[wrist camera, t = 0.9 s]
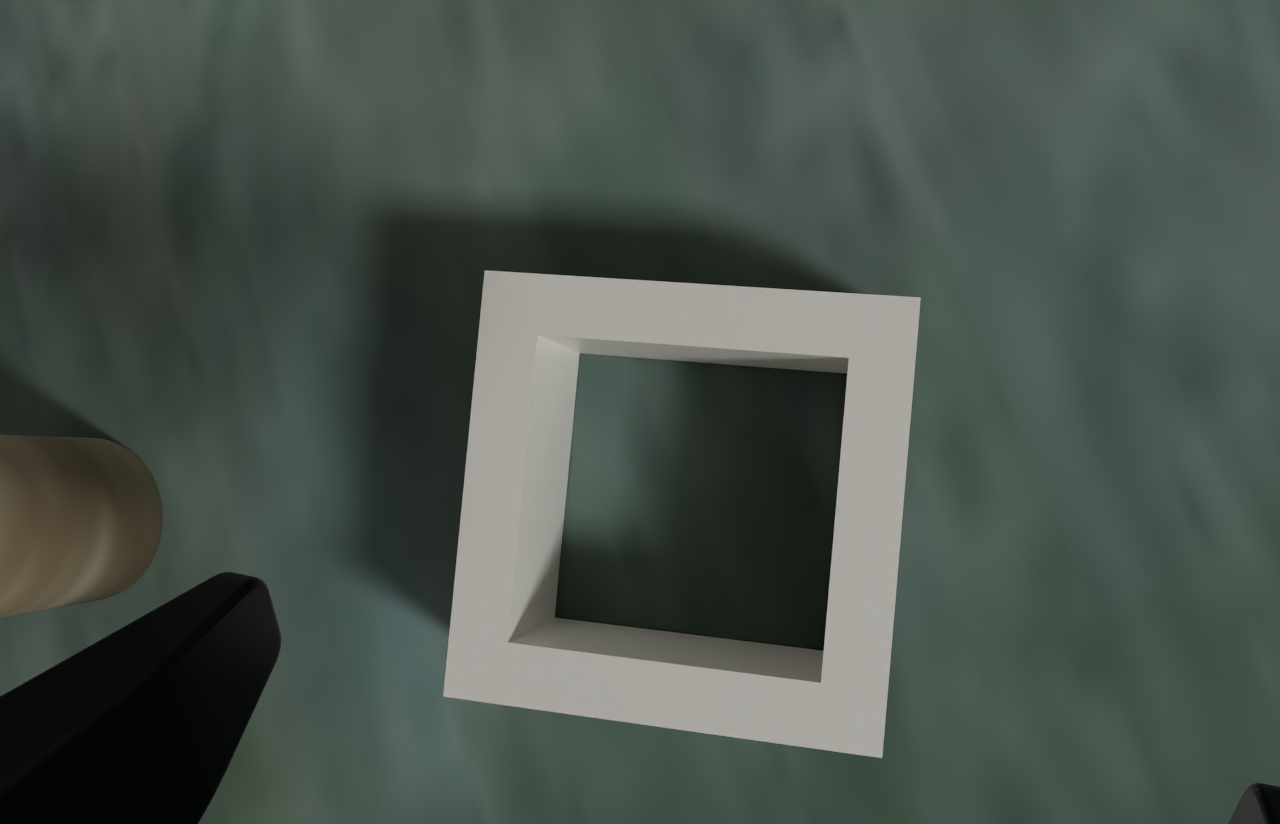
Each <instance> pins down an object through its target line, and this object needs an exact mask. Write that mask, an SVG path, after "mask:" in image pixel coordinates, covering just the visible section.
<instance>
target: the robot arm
mask: <svg viewBox="0 0 1280 824" xmlns="http://www.w3.org/2000/svg"><path fill="white" fill-rule="evenodd" d="M280 647H281V633H280V629H279V625H278V622H277V618H276V615H275V611H274V608H273V604H272V601H271V597H270V594H269V590H268V588H267V585H266V584H265V583H264V582H263V581H262V580H261V579H259V578H257V577H252V576H247V575H242V574H238V573H232V572H224V573H220V574H218V575H216V576H213V577H212V578H210V579H208V580H206V581H205V582H203V583H201V584H199V585H197V586H196V587H194V588H192V589H190V590H189V591H187V592H185V593H183V594H181V595H180V596H178V597H176V598H174V599H173V600H171V601H169V602H167V603H165V604H164V605H162V606H160V607H158V608H157V609H155V610H153V611H151V612H150V613H148V614H146V615H144V616H142V617H141V618H139V619H137V620H135V621H134V622H132V623H130V624H128V625H126V626H125V627H123V628H121V629H119V630H118V631H116V632H114V633H112V634H110V635H109V636H107V637H105V638H103V639H102V640H100V641H98V642H96V643H94V644H93V645H91V646H89V647H87V648H86V649H84V650H82V651H80V652H78V653H77V654H75V655H73V656H71V657H70V658H68V659H66V660H64V661H62V662H61V663H59V664H57V665H55V666H54V667H52V668H50V669H48V670H46V671H45V672H43V673H41V674H39V675H38V676H36V677H34V678H32V679H30V680H29V681H27V682H25V683H23V684H22V685H20V686H18V687H16V688H14V689H13V690H11V691H9V692H7V693H6V694H4V695H2V696H0V824H198V823H199V821H200V819H201V818H202V816H203V814H204V812H205V810H206V809H207V807H208V805H209V803H210V801H211V800H212V798H213V796H214V794H215V792H216V790H217V788H218V786H219V784H220V782H221V780H222V778H223V776H224V774H225V772H226V770H227V768H228V766H229V763H230V761H231V759H232V757H233V755H234V752H235V750H236V748H237V746H238V744H239V742H240V739H241V737H242V735H243V733H244V731H245V729H246V726H247V724H248V722H249V720H250V718H251V715H252V713H253V711H254V709H255V707H256V705H257V702H258V700H259V698H260V696H261V694H262V691H263V689H264V687H265V685H266V683H267V681H268V678H269V676H270V674H271V672H272V670H273V667H274V665H275V663H276V661H277V658H278V655H279V652H280ZM1228 824H1280V787H1277V786H1272V785H1267V784H1262V783H1255V784H1253V785H1251V786H1250V787H1248V788H1247V790H1246V791H1245V792H1244V794H1243V796H1242V798H1241V800H1240V802H1239V804H1238V806H1237V807H1236V809H1235V811H1234V813H1233V815H1232V817H1231V819H1230V821H1229V823H1228Z"/></svg>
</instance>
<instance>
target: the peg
mask: <svg viewBox="0 0 1280 824" xmlns="http://www.w3.org/2000/svg"><path fill="white" fill-rule="evenodd" d="M162 519H163V515H162V504H161V499H160V494H159V491H158V488H157V485H156V483H155V481H154V479H153V476H152V475H151V473H150V471H149V470H148V468H147V467H146V466H145V464H144V463H143V462H142V461H141V460H140V459H139V458H138V457H137V456H136V455H135V454H134V453H133V452H131V451H130V450H129V449H127V448H126V447H124V446H122V445H120V444H118V443H116V442H113V441H110V440H106V439H100V438H82V437H55V436H28V435H2V434H0V618H1V617H7V616H13V615H18V614H24V613H29V612H35V611H40V610H46V609H51V608H57V607H62V606H68V605H73V604H79V603H84V602H90V601H95V600H101V599H105V598H109V597H111V596H114V595H116V594H119V593H120V592H122V591H124V590H125V589H127V588H128V587H130V586H131V585H132V584H133V583H135V582H136V581H137V580H138V579H139V578H140V577H141V576H142V574H143V573H144V572H145V570H146V569H147V568H148V566H149V564H150V563H151V561H152V559H153V557H154V555H155V553H156V550H157V548H158V544H159V541H160V537H161V531H162Z"/></svg>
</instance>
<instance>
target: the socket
mask: <svg viewBox="0 0 1280 824" xmlns="http://www.w3.org/2000/svg"><path fill="white" fill-rule="evenodd" d="M920 299H921V298H919V297H903V296H887V295H871V294H855V293H839V292H823V291H807V290H791V289H775V288H759V287H743V286H727V285H711V284H695V283H679V282H663V281H647V280H631V279H615V278H599V277H583V276H567V275H551V274H535V273H519V272H503V271H487V270H485V272H484V282H483V292H482V303H481V313H480V323H479V333H478V344H477V354H476V364H475V375H474V385H473V395H472V406H471V416H470V426H469V436H468V447H467V457H466V467H465V478H464V488H463V498H462V509H461V519H460V529H459V539H458V550H457V560H456V570H455V581H454V591H453V601H452V612H451V622H450V632H449V642H448V653H447V663H446V673H445V684H444V694H443V697H451V698H458V699H465V700H472V701H479V702H486V703H493V704H500V705H508V706H515V707H522V708H529V709H536V710H543V711H550V712H557V713H565V714H572V715H579V716H586V717H593V718H600V719H607V720H615V721H622V722H629V723H636V724H643V725H650V726H657V727H664V728H672V729H679V730H686V731H693V732H700V733H707V734H714V735H721V736H729V737H736V738H743V739H750V740H757V741H764V742H771V743H778V744H786V745H793V746H800V747H807V748H814V749H821V750H828V751H836V752H843V753H850V754H857V755H864V756H871V757H878V758H882V754H883V742H884V730H885V718H886V706H887V694H888V682H889V670H890V658H891V646H892V634H893V622H894V611H895V599H896V587H897V575H898V563H899V551H900V539H901V527H902V515H903V503H904V491H905V479H906V467H907V455H908V443H909V431H910V419H911V407H912V395H913V383H914V371H915V359H916V347H917V335H918V323H919V311H920ZM580 353H583V354H596V355H609V356H622V357H635V358H649V359H662V360H675V361H688V362H701V363H714V364H727V365H741V366H754V367H767V368H780V369H793V370H806V371H819V372H833V373H846V374H847V383H846V395H845V407H844V418H843V430H842V442H841V453H840V465H839V477H838V489H837V500H836V512H835V524H834V535H833V547H832V559H831V570H830V582H829V594H828V605H827V617H826V629H825V640H824V651H821V650H813V649H805V648H797V647H789V646H781V645H773V644H765V643H757V642H748V641H740V640H732V639H724V638H716V637H708V636H700V635H692V634H684V633H676V632H667V631H659V630H651V629H643V628H635V627H627V626H619V625H611V624H603V623H595V622H586V621H578V620H570V619H562V618H555V609H556V599H557V588H558V577H559V567H560V556H561V545H562V535H563V524H564V513H565V503H566V492H567V482H568V471H569V460H570V450H571V439H572V428H573V418H574V407H575V396H576V386H577V375H578V364H579V354H580Z"/></svg>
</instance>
